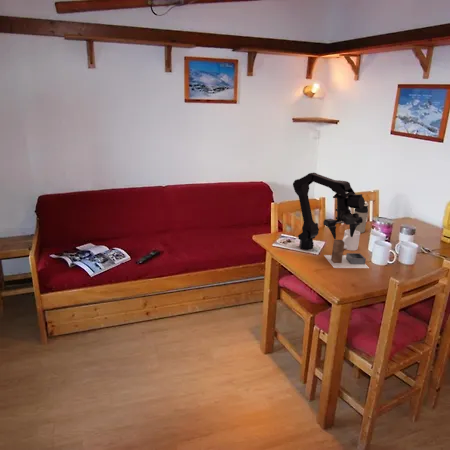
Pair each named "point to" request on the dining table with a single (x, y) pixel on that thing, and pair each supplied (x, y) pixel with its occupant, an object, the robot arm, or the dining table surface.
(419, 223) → the dining table surface
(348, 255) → the block
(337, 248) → the post
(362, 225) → the travel mug
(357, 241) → the mug
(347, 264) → the board
